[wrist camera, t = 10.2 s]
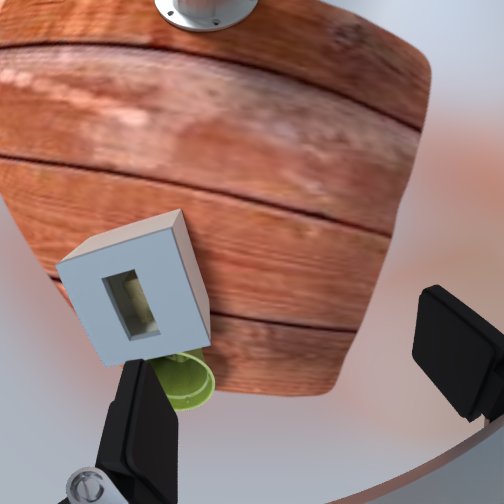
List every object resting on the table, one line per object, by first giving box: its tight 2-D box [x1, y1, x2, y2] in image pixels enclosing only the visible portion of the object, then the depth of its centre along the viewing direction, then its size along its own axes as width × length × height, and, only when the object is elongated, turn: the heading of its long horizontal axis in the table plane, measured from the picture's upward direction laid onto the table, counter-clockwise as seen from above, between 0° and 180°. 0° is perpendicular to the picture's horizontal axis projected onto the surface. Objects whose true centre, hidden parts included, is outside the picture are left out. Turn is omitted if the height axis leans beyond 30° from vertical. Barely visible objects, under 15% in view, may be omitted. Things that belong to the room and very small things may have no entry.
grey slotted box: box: [56, 209, 211, 367], centre depth 32 cm, size 12×12×10 cm
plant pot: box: [145, 348, 215, 411], centre depth 36 cm, size 9×9×9 cm
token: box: [122, 269, 154, 323], centre depth 34 cm, size 5×2×5 cm, turn 18°
